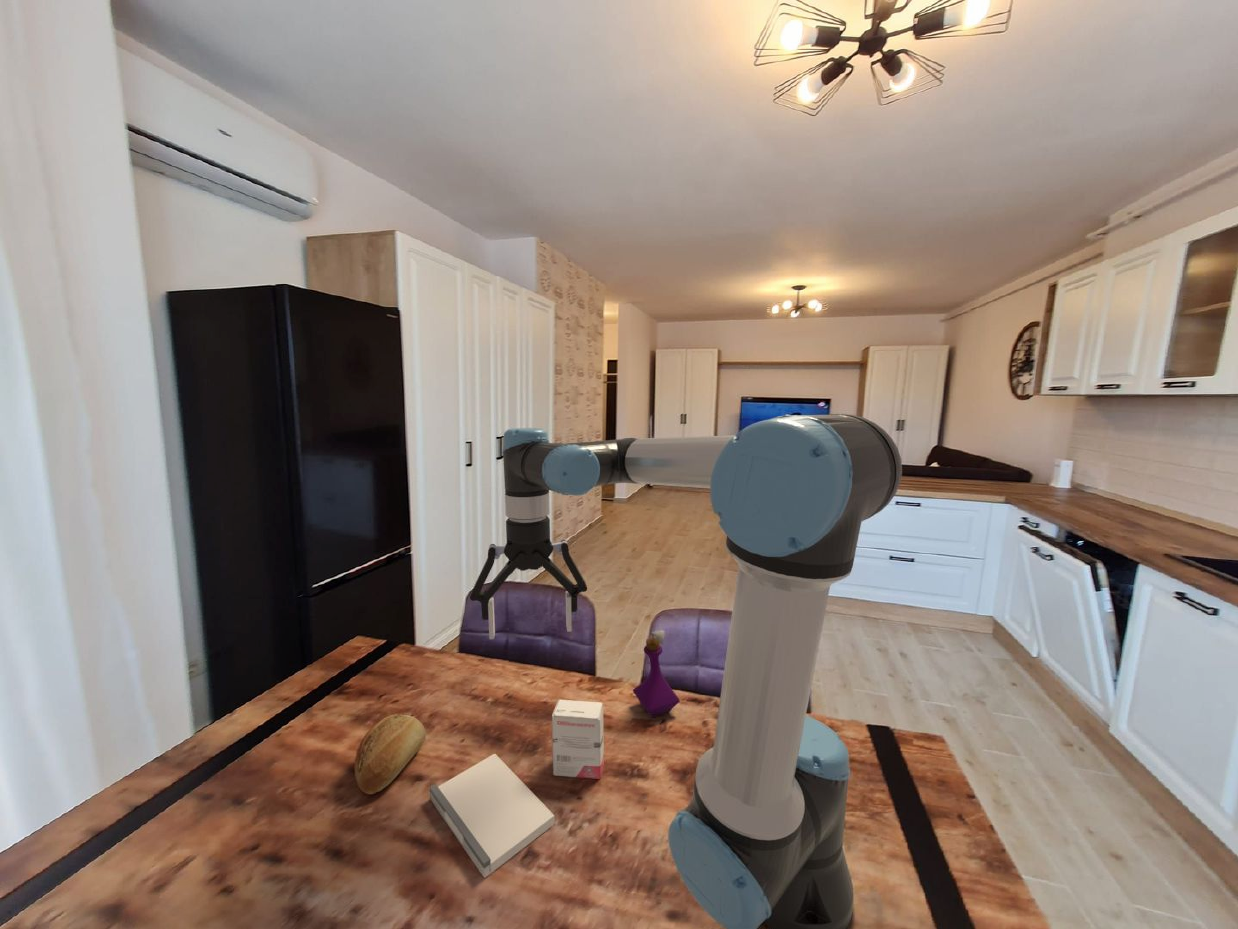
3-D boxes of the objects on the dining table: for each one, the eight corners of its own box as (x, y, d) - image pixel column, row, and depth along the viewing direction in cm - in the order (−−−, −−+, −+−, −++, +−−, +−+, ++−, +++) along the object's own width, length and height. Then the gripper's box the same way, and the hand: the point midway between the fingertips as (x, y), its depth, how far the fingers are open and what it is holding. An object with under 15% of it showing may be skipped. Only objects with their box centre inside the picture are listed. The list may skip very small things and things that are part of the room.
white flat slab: (554, 824, 74) (554, 811, 73) (483, 879, 65) (482, 864, 65) (495, 760, 86) (494, 749, 86) (429, 800, 78) (428, 787, 78)
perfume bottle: (632, 703, 103) (632, 626, 100) (662, 694, 106) (663, 619, 103) (648, 725, 96) (649, 642, 93) (679, 715, 99) (682, 634, 96)
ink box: (605, 759, 87) (605, 701, 85) (601, 781, 82) (601, 719, 80) (558, 755, 88) (558, 697, 86) (552, 776, 83) (551, 715, 81)
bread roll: (337, 798, 78) (334, 755, 77) (390, 735, 93) (388, 697, 92) (392, 804, 77) (389, 760, 76) (437, 739, 92) (435, 701, 91)
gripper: (595, 508, 88) (596, 616, 91) (455, 515, 83) (461, 628, 86) (602, 518, 81) (602, 635, 84) (449, 526, 76) (455, 649, 79)
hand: (531, 632), depth 85 cm, fingers open, 13 cm apart
